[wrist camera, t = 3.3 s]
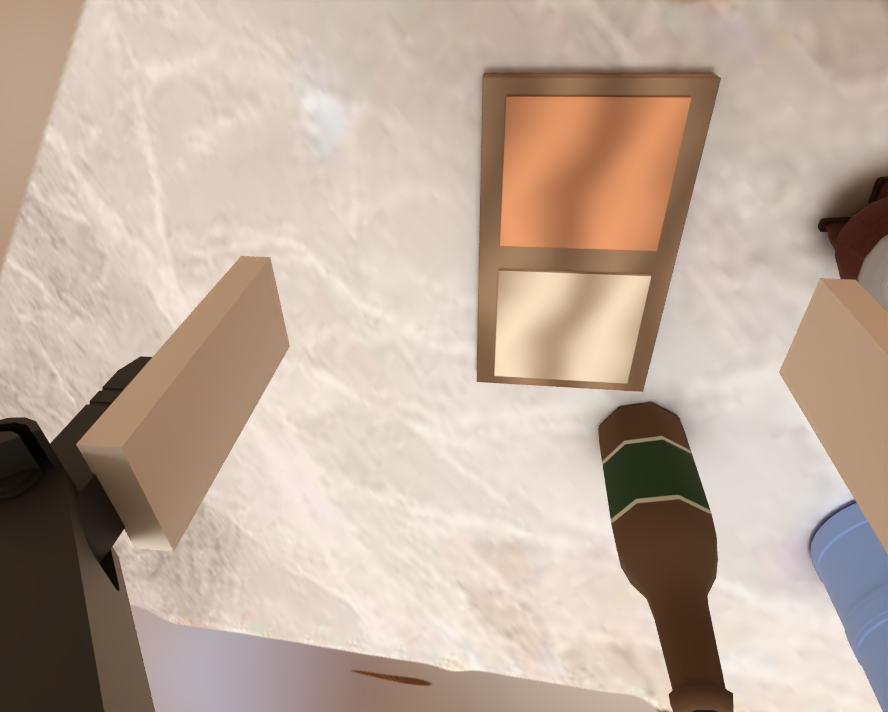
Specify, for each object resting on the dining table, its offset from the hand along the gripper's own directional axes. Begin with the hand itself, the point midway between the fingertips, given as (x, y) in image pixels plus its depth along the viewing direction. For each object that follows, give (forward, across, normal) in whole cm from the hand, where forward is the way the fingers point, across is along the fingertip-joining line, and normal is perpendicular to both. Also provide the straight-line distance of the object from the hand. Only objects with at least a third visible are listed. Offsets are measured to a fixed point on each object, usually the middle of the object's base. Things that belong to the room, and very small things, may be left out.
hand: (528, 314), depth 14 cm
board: (+27, -5, +11) cm, 30 cm away
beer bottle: (+27, -13, +29) cm, 42 cm away
